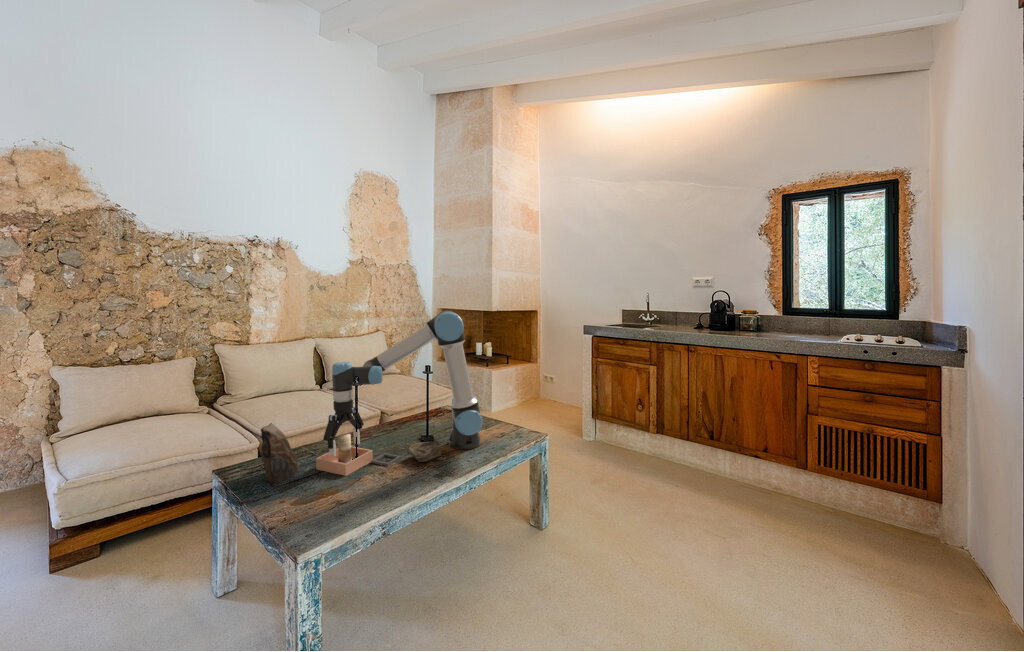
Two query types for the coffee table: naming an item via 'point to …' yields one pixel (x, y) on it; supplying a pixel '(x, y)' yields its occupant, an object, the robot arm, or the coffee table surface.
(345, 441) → the beige rounded cylinder
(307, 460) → the coffee table surface
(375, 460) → the gray square frame
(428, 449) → the stone
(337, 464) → the tray
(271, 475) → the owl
